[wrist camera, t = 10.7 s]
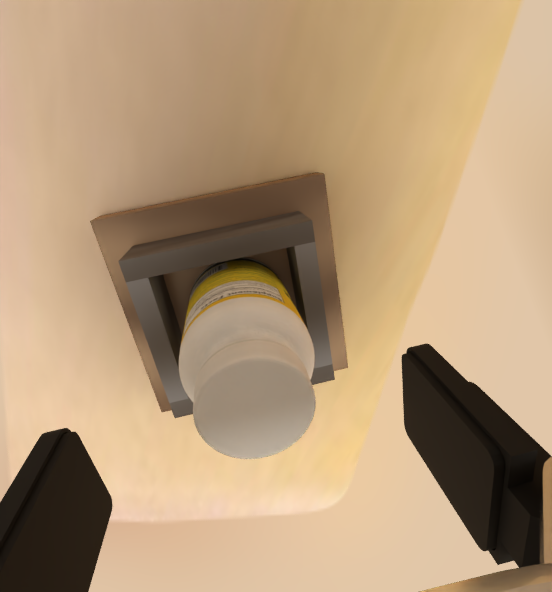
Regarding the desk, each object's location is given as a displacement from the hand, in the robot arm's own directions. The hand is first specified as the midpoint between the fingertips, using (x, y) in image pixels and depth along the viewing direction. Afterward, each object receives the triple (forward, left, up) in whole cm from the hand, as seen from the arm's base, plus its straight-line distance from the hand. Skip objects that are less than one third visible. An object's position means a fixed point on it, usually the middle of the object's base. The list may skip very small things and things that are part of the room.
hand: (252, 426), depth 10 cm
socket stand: (+1, 0, -12) cm, 12 cm away
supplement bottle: (+1, 0, -11) cm, 11 cm away
